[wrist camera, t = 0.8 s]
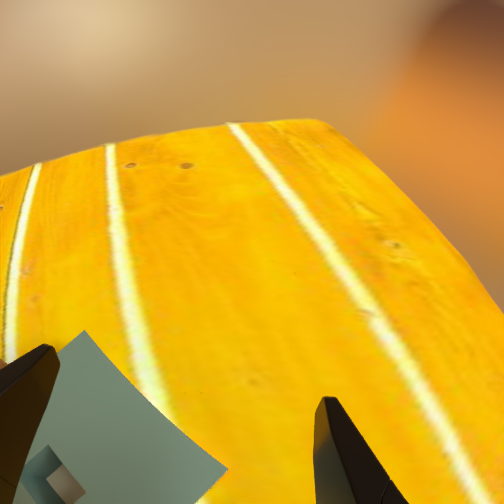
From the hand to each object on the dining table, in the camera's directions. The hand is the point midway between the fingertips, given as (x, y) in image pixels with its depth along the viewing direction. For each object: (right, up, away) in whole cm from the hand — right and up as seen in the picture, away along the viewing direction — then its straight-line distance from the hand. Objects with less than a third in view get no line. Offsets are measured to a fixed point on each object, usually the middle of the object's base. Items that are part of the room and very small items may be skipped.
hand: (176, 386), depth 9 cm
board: (-11, -14, +7) cm, 19 cm away
